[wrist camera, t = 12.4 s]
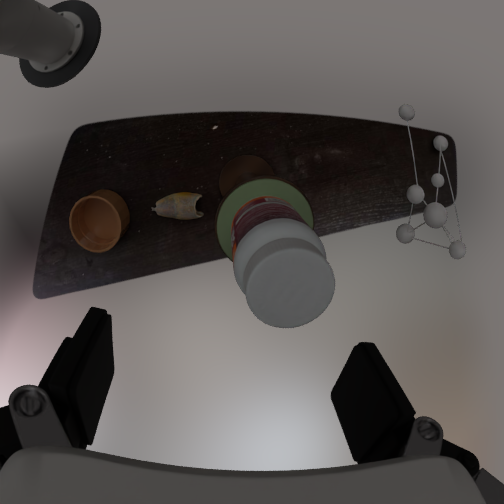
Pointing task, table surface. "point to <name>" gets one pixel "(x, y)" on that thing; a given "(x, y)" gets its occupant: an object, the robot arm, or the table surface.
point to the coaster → (252, 191)
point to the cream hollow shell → (178, 206)
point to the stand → (245, 179)
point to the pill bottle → (280, 263)
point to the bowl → (99, 220)
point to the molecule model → (434, 211)
